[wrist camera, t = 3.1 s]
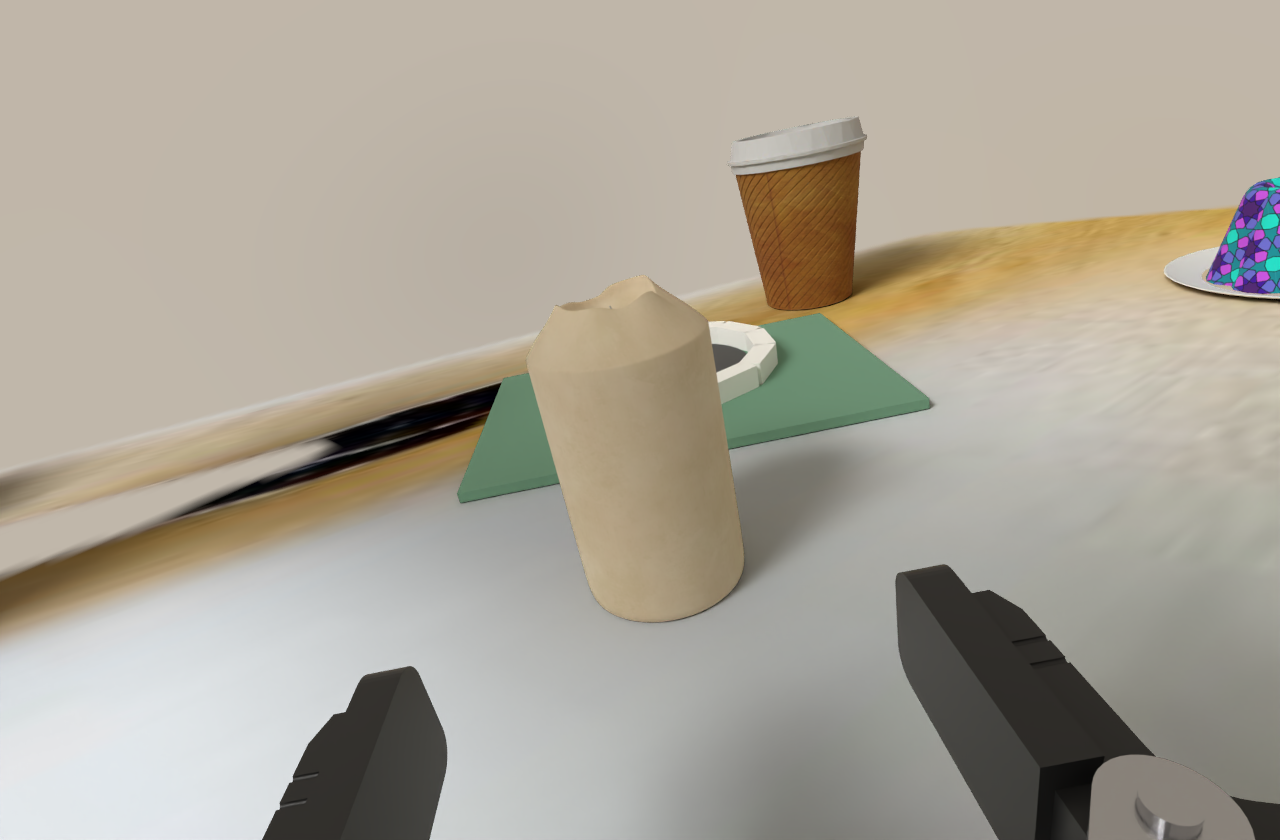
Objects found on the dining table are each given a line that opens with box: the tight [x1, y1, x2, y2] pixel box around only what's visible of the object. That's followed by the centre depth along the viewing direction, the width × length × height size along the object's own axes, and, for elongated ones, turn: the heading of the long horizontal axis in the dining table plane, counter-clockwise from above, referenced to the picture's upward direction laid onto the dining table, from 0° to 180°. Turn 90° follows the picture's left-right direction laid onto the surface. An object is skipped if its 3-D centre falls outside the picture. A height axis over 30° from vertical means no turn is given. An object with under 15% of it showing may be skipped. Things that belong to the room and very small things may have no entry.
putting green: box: [457, 313, 930, 503], centre depth 37 cm, size 22×16×2 cm
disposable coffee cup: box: [728, 117, 867, 310], centre depth 48 cm, size 10×10×12 cm
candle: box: [526, 275, 744, 622], centre depth 21 cm, size 6×6×10 cm
